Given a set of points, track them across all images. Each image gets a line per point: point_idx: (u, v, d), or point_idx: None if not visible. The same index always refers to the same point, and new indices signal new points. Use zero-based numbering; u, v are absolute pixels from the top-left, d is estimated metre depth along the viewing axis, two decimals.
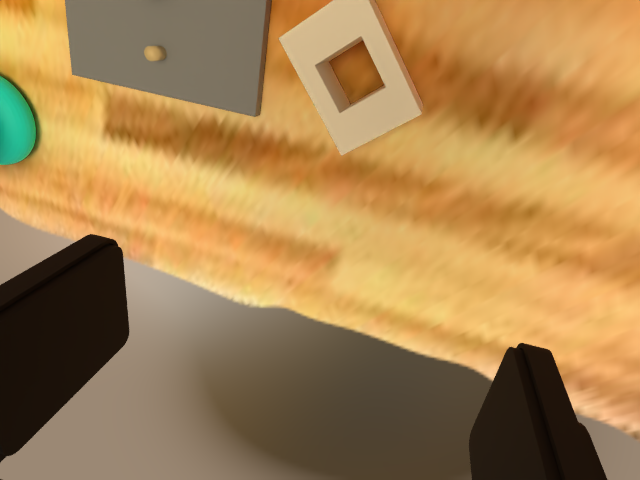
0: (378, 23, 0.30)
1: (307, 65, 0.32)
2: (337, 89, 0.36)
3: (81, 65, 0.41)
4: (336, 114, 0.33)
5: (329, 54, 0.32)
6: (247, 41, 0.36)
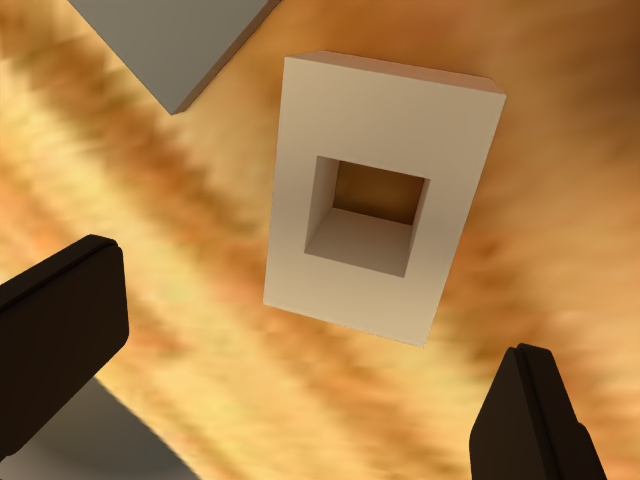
0: (475, 185, 0.14)
1: (304, 144, 0.15)
2: (328, 189, 0.19)
3: None
4: (297, 250, 0.17)
5: (355, 160, 0.15)
6: None
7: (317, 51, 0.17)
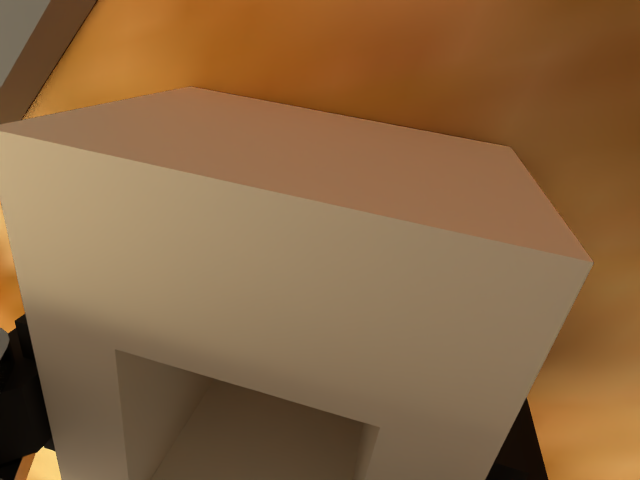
0: (490, 453, 0.06)
1: (83, 325, 0.06)
2: None
3: None
4: None
5: (200, 368, 0.06)
6: None
7: (165, 92, 0.09)
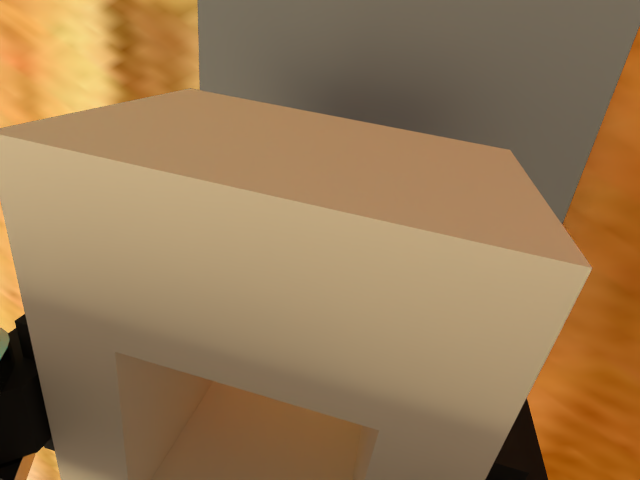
0: (489, 456, 0.06)
1: (84, 328, 0.06)
2: None
3: None
4: None
5: (200, 371, 0.06)
6: None
7: (166, 94, 0.09)
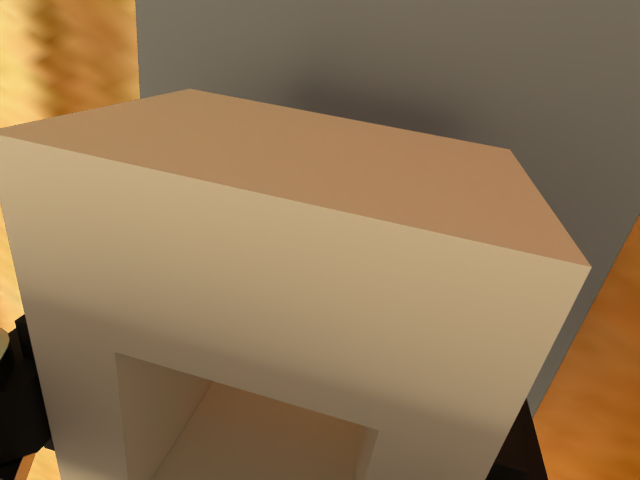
0: (489, 456, 0.06)
1: (83, 328, 0.06)
2: None
3: None
4: None
5: (200, 371, 0.06)
6: None
7: (165, 94, 0.09)
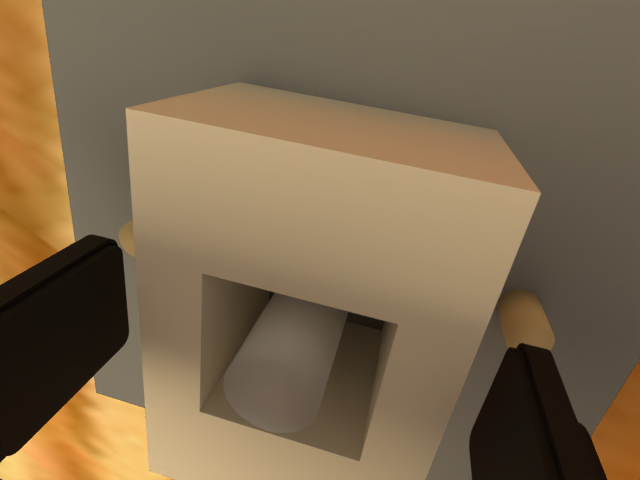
0: (476, 340, 0.08)
1: (180, 255, 0.09)
2: (251, 290, 0.12)
3: None
4: (189, 406, 0.10)
5: (266, 285, 0.08)
6: None
7: (224, 86, 0.11)
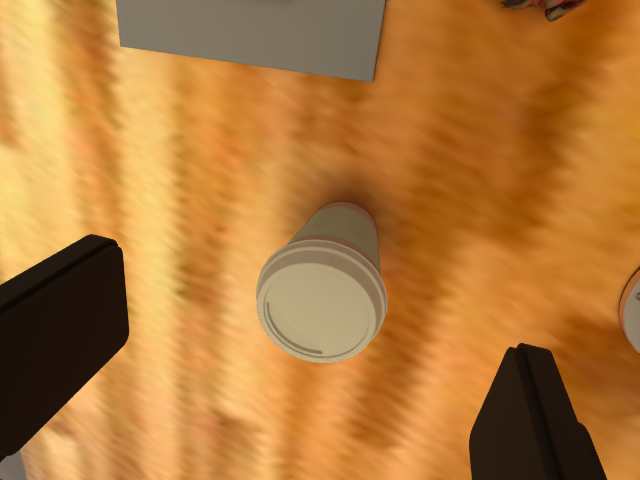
0: None
1: None
2: None
3: None
4: None
5: None
6: (196, 37, 0.31)
7: None
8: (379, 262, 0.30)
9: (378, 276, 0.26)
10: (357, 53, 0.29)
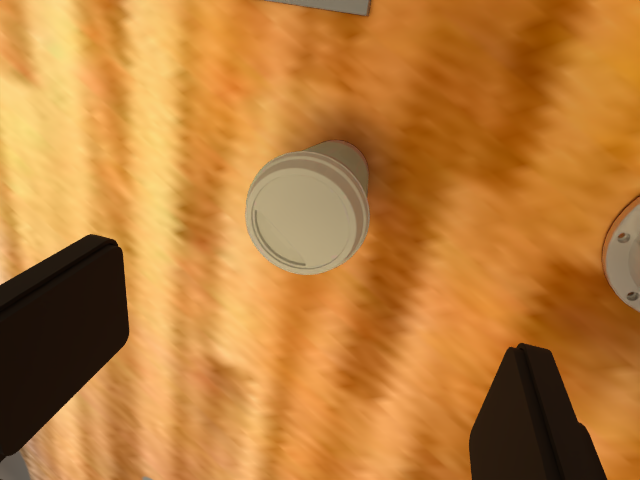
0: None
1: None
2: None
3: None
4: None
5: None
6: None
7: None
8: (366, 188, 0.31)
9: (361, 189, 0.27)
10: None
